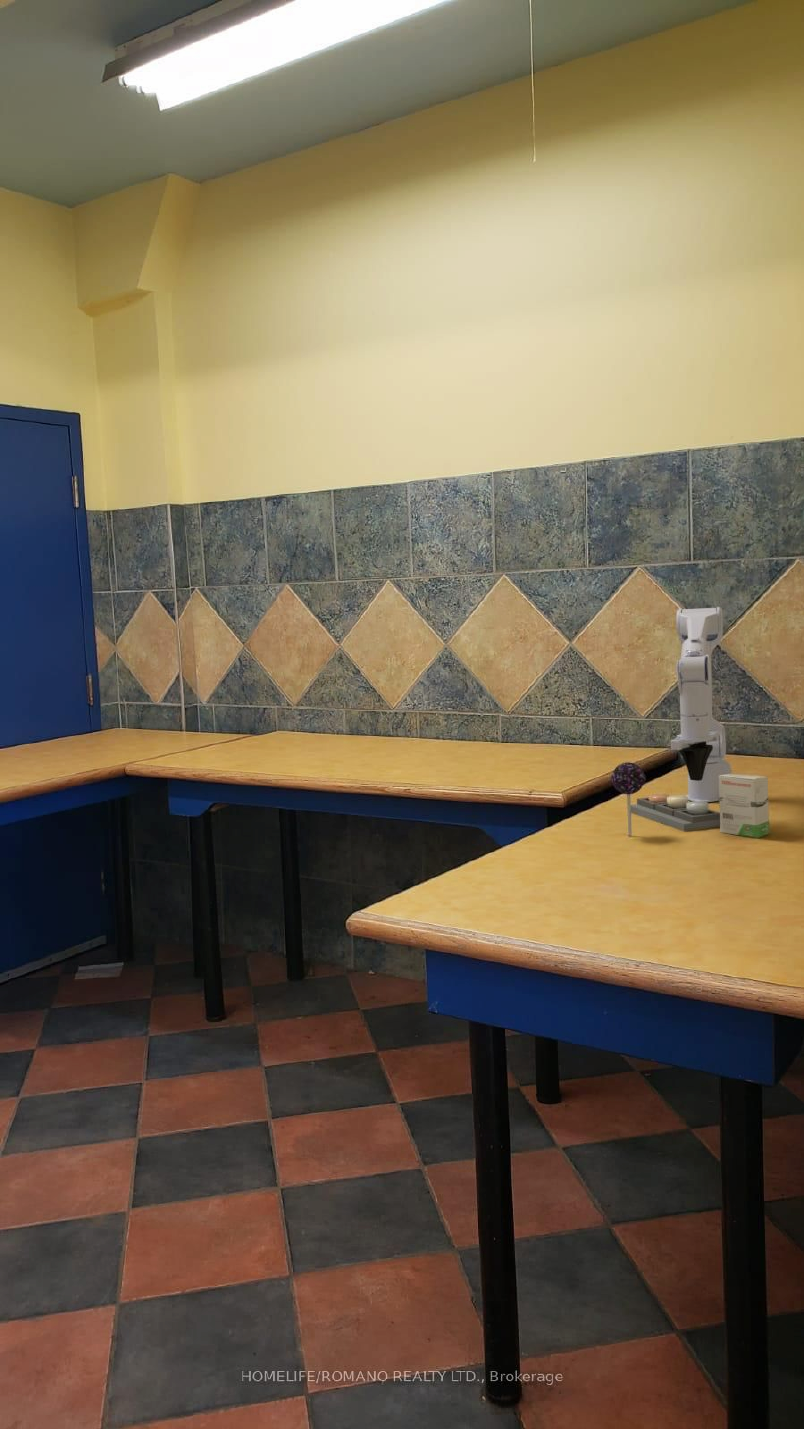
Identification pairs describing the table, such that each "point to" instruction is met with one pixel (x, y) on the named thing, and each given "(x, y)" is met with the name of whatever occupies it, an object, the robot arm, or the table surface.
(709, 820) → the panel
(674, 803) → the cream button
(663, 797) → the terracotta button
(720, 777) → the ink box
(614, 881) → the table surface
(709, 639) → the robot arm
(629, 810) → the lollipop
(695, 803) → the blue-grey button
